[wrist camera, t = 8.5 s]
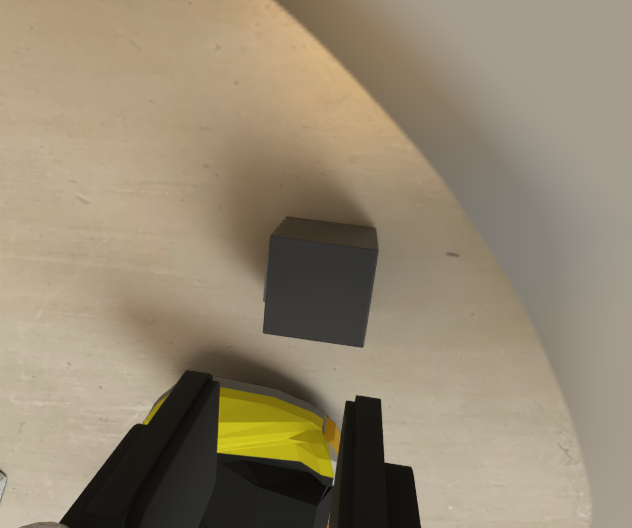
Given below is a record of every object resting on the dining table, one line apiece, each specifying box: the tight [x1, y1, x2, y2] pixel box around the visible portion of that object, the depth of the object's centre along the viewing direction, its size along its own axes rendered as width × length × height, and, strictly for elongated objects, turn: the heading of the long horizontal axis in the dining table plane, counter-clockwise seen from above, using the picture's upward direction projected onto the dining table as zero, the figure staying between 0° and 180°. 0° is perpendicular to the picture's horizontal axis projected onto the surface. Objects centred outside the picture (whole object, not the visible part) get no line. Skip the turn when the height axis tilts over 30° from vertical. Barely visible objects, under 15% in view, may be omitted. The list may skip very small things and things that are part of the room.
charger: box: [263, 217, 378, 348], centre depth 21 cm, size 5×4×4 cm
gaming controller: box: [142, 377, 341, 528], centre depth 24 cm, size 15×6×10 cm
